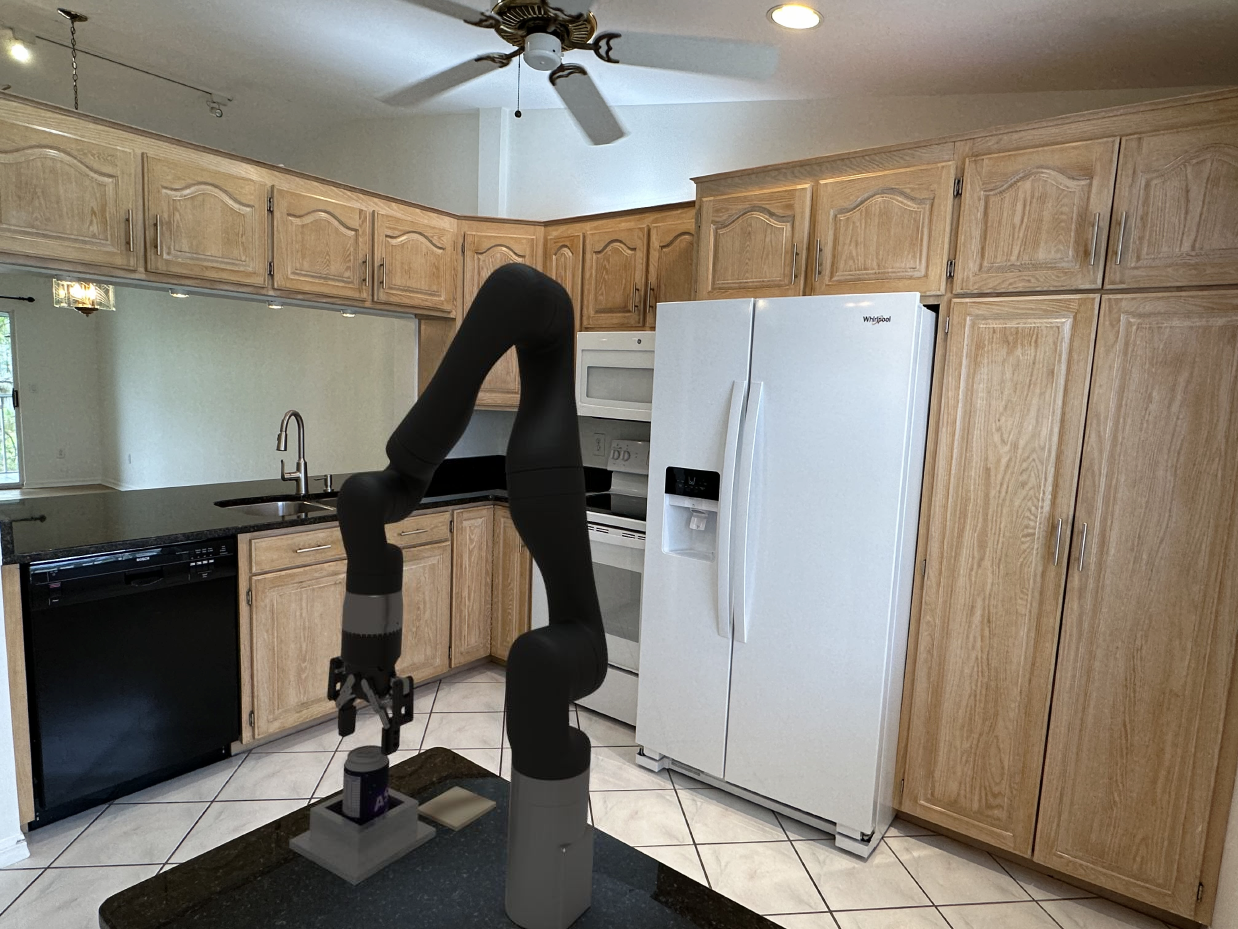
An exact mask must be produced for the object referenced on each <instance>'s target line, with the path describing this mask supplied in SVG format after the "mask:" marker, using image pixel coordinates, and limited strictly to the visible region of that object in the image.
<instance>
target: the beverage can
mask: <svg viewBox="0 0 1238 929" xmlns="http://www.w3.org/2000/svg"><path fill="white" fill-rule="evenodd" d="M342 777H343V779H342V785H343V786H342V793H343V806H342V817H344V818H346V819H348V820H350V821H352V822H353V823H355V824H357V825H359V826H362V825H364V824H366V823H367V822H369V821H371V820H373V819H375V818H377V817H379V816H380V815H382V814H384V813H386V812H388V788H390V787H389V782H390V759H389V755H388V756H385V755H382V754H381V745H373V744H371V745H369V744H368V745H362V746H361V745H360V746H358V747H355V748H353V749H352V750H350V751H349V752H348V753H347V758H346V760H345V762H344V764H343V776H342Z"/></svg>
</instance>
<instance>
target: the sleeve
mask: <svg viewBox="0 0 1238 929" xmlns="http://www.w3.org/2000/svg"><path fill="white" fill-rule="evenodd" d="M419 803H420V802H419V800H417V799H415V798H412V797H411V796H408V795H405V794H404V793H402V792H400V791H397V790H394V789H392V788H390V787H388V812H386V813H384V814H382V815H380V816H379V817H377V818H375V819H373V820H371V821H369V822H367V823H366V824H364V825H362V826H359V825H357V824H355V823H353V822H352V821H350V820H348V819H346V818H344V817H342V806H343V792H342V793H340V794H338V795H336V796H334V797H332V798H330V799H328V800H326V801H324V802H321V803H320V804H317V805H315V806H313V807H311V808H310V810H309V830H307V831H304V832H303V833H301V834H299V835H297V836H295V837H293V838H291V839H289V846H288V847H289V848H290V849H291V850H293V851H295V852H296V853H298V854H300V855H302V856H303V857H305V858H307V859H309V860H310V861H312V862H313V863H315V864H317V865H319V866H321V867H322V868H323V869H326V870H328V872H331V873H333V874H334V875H336V876H338V877H339V878H341V879H343V880H345V881H346V882H348V883H350V884H352V885H353V886H357V885H358V884H360V883H361V882H363V881H365V880H366V879H368V878H369V877H371V876H373V875H374V874H376V873H377V872H379V871H381V870H382V869H384V868H386V867H388V866H389V865H391V864H392V863H394V862H396V861H398V860H399V859H400V858H403V856H406V855H407V854H409V853H410V852H412V851H413V850H415V849H417V848H418V847H420V846H422V845H423V844H426V842H428V841H430V840H431V839H433V838H434V837H436V835H437V834H436V832H437V831H436V830H437V829H436V828H435V827H433V826H431V825H429V824H427V823H425V822H423V821H420V820H419V814H418V807H419Z"/></svg>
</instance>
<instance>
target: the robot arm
mask: <svg viewBox="0 0 1238 929" xmlns="http://www.w3.org/2000/svg"><path fill="white" fill-rule="evenodd" d="M575 319H576V318H575V309H574V304H573V301H572V298H571V296H570V294H569V292H568V290H567V289H566V287H564V286H563V285H562V283H560V282H559V281H557V280H556V279H554V278H552V277H551V276H549V275H547V274H546V273H544V272H542V271H540V270H538V269H537V268H535V267H533V266H532V265H529V264H526V263H522V262H508V263H505V264H502V265H500V266H499V267H497V268H496V269H494V270H493V271H492V272H491V273H490V274H489V275H488V276H487V278H486V279H485V280H484V281H483V283H482V285H481V286H480V288H479V289H478V292H477V293H476V295H475V296H474V299H473V300H472V302H471V304H470V306H469V308H468V310H467V312H466V314H465V316H464V318H463V320H462V322H461V324H460V326H459V327H458V330H457V331H456V333H455V335H454V337H453V338H452V341H451V342H450V344H449V347H448V348H447V350H446V353H445V354H444V356H443V358H442V360H441V362H440V364H439V365H438V367H437V369H436V371H435V372H434V375H433V376H432V378H431V380H430V381H429V383H428V384H427V385H426V388H424V390H423V391H422V394H420V396H419V397H418V399H417V400H416V401H415V403H414V404H413V406H412V407H411V408H410V409H409V410H408V412H407V414H406V415H405V416H404V417H403V418H402V419H401V421H400V423H399V424H398V425H397V427H396V428H395V429H394V431H393V432H392V434H391V435H390V436H389V438H388V440H387V441H386V445H385V454H386V456H387V458H388V460H389V464H388V465H387V466H386V467H385V468H384V469H383V470H381V471H365V472H357V473H354V474H352V475H350V476H348V477H347V478H346V479H345V480H344V481H343V483H342V484H341V486H340V488H339V491H338V493H337V497H336V505H335V506H336V509H335V510H336V518H337V522H338V527H339V531H340V534H341V540H342V544H343V545H342V546H343V548H344V551H345V552H344V553H345V555H346V560H347V562H346V572H345V574H346V576H345V577H346V578H345V591H344V592H345V594H344V600H343V604H342V614H341V615H342V617H341V618H342V619H341V620H342V621H341V644H340V645H341V647H340V655H337V656H335V657H332V658H330V660H329V668H328V679H327V680H328V682H327V692H326V697H327V700H328V701H329V702H331V701H333V702H334V705H335V707H336V709H338V711H337V713H338V714H337V729H338V731H337V732H338V733H337V734H338V736H339V737H342V738H346V737H349V736H350V735H353V734H354V733H355V732H356V727H357V726H356V722H357V721H356V720H357V706H356V705H355V704H356V703H357V701H358V700H364V702H366V703H367V704H370V705H371V708H372V710H373V712H374V713H375V714H377V715H378V716H379V719H380V723H381V724H382V727H381V738H380V739H381V742H380V746H381V754H382V755H385V756H388V757H389V756H390V755H393V754H394V753H395V754H396V752H398V750H399V748H400V745H401V744H400V743H401V742H400V741H401V740H400V738H401V727H402V726H404V725H406V724H410V723H411V722H413V721H414V714H415V713H414V710H415V709H414V708H415V707H414V701H415V698H414V697H415V692H414V691H415V690H414V689H415V686H414V685H415V684H414V683H415V681H414V680H415V679H414V677H413V676H412V675H407V676H404V677H403V676H398V674H397V672H396V663H397V661H399V659H400V658H401V656H402V644H403V623H404V597H403V582H404V580H403V579H404V553H403V550H402V549H401V547H400V546H398V545H397V544H394V543H390V542H388V539H387V534H386V533H387V532H386V525H392V524H397V523H400V522H402V521H404V520H406V519H407V518H408V517H410V516H411V515H412V514H413V513H414V512H415V511H416V510H417V508H418V507H419V506H420V504H421V503H422V500H423V499H424V496H425V494H426V492H427V491H428V488H429V487H430V484H431V482H432V479H433V476H434V474H435V471H436V470H437V469H438V468H439V466H440V465H441V464H442V463H443V461H445V459H446V458H447V456H449V454H450V452H451V451H452V450H453V449H454V448H455V447H456V445H457V444H458V443H459V441H460V439H461V438H462V437H463V435H464V434H465V433H466V430H467V429H468V426H469V424H470V422H471V419H472V417H473V415H474V410H475V407H476V403H477V400H478V397H479V393H480V391H481V388H482V386H483V384H484V382H485V380H486V378H487V376H488V375H489V373H490V371H491V370H492V369H493V368H494V366H496V364H497V363H498V362H499V360H500V359H501V358H502V357H503V356H504V355H505V354H507V352H508V351H510V349H511V348H512V347H513V346H514V347H515V352H516V358H517V364H518V374H519V375H518V376H519V382H520V383H519V386H520V389H519V393H520V394H519V402H518V408H517V412H516V416H515V418H514V421H513V424H512V428H511V431H510V435H509V439H508V443H507V446H506V452H505V462H504V463H505V474H506V475H505V479H506V489H507V491H506V492H507V504H508V510H509V516H510V519H511V521H512V524H513V525H514V528H515V530H516V533H517V534H518V536H519V537H520V539H521V541H522V542H523V544H524V546H525V548H526V549H527V550H528V552H529V554H530V556H531V557H532V559H533V561H534V562H535V564H536V566H537V567H538V570H539V572H540V575H541V576H542V577H541V578H542V580H543V583H544V588H545V593H546V599H547V600H546V602H547V610H548V611H547V612H548V624H547V625H544V626H541V627H537V628H534V629H531V630H528V631H525V632H523V633H521V634H520V635H519V636H517V637H516V638H515V639H514V641H513V642H512V644H511V646H510V648H509V651H508V654H507V658H506V666H505V684H504V685H505V731H506V737H507V741H508V743H509V748H510V751H511V752H510V754H511V758H510V760H511V761H510V781H509V801H508V802H509V803H508V804H509V805H508V822H507V823H508V824H507V825H508V826H507V847H506V867H505V868H506V870H505V871H506V872H505V874H506V875H505V890H504V891H505V894H504V900H505V901H504V909H505V912H506V915H507V916H508V918H509V919H510V920H511V921H512V922H513V923H515V924H516V925H518V926H520V927H521V928H525V929H568V928H570V926H571V925H572V924H573V923H574V922H575V921H577V919H578V918H579V917H580V916H582V915H583V913H585V911H587V910H588V909H589V907H591V903H592V902H591V900H592V887H593V886H592V883H593V881H592V880H593V865H594V864H593V861H594V844H595V843H594V842H595V829H594V827H593V826H591V825H589V824H588V820H589V800H590V798H589V797H590V782H591V781H590V780H591V779H590V778H591V761H592V760H591V759H592V758H591V757H592V742H591V740H590V736H588V734H587V733H586V732H585V731H583V730H582V729H580V728H578V727H576V726H572V725H570V704H573V703H575V702H577V701H579V700H582V699H584V698H586V697H588V696H590V695H592V694H593V693H596V691H598V690H599V688H601V687H602V685H603V684H604V682H605V679H606V676H607V675H608V674H607V673H608V668H609V651H608V642H607V637H606V633H605V632H606V631H605V627H604V622H603V617H602V612H601V606H600V601H599V597H598V592H597V585H596V580H595V574H594V567H593V558H592V557H593V556H592V549H591V538H590V531H589V522H588V512H587V493H586V491H587V490H586V482H585V480H586V479H585V472H584V460H583V454H582V447H581V438H580V436H581V435H580V427H579V426H580V424H579V414H578V405H577V397H576V386H575V384H576V383H575V382H576V381H575V347H576V346H575V341H576V340H575V339H576V338H575V332H576V331H575V330H576V329H575V328H576V327H575V325H576V322H575ZM338 684H339V688H338V689H337V686H338ZM387 696H388V699H389V700H387V701H384V702H381V701H383V700H385V699H386V698H387ZM388 709H389V710H390V712H391V716H390V715H389V713H388ZM402 709H404V711H403V712H404V713H403V712H402Z"/></svg>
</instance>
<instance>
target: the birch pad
mask: <svg viewBox="0 0 1238 929" xmlns="http://www.w3.org/2000/svg"><path fill="white" fill-rule="evenodd" d="M494 807H495V808H496V807H497V802H496V801H493V800H491V799H489V798H486V797H484V796H482V795H479V794H476V793H473V792H471V791H469V790H467V789H464V788H462V787H459V786H457V785H456V786H453V787H452V788H450V789H448V790H447V791H445V792H443V793H442V794H440V795H438V796H435V797H434V798H433V799H431V800H429V801H426V803H423V804H421V805H420V806H418V815H421V816H423V817H425V818H427V819H429V820H431V821H433V822H436V823H438V824H441V825H443V826H445V827H447V828H449V829H451V830H453V831H455V832H458V831H459V830H461V829H463V828H464V827H466V826H467V825H469V824H471V823H473V822H474V821H475V820H478V819H479V818H480V817H482V816H484V815H485V814H487V813H489V812H490V811H491V810H493V809H495V808H494Z"/></svg>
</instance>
